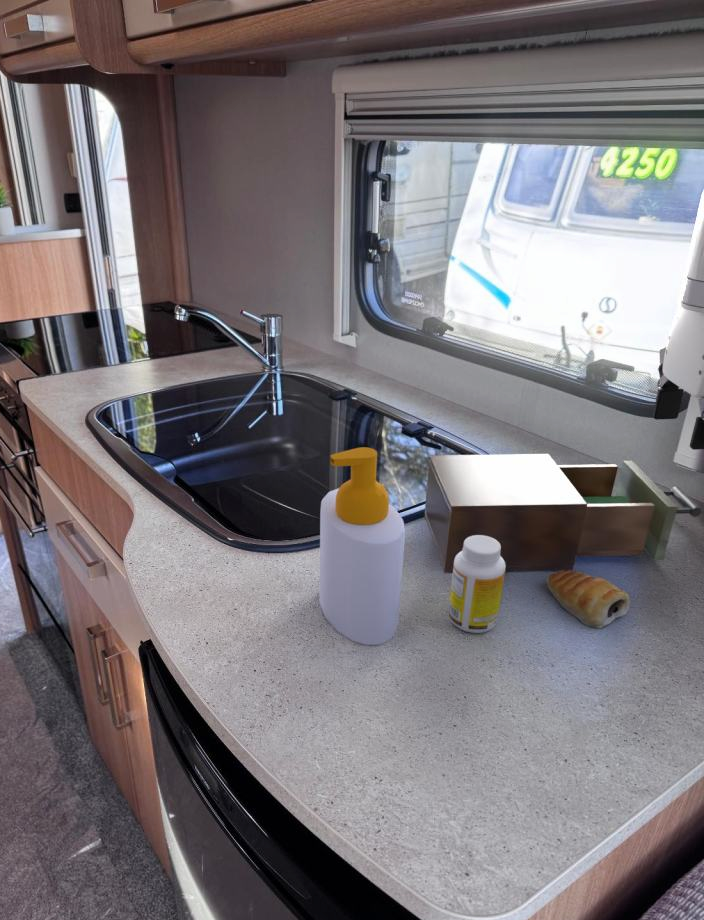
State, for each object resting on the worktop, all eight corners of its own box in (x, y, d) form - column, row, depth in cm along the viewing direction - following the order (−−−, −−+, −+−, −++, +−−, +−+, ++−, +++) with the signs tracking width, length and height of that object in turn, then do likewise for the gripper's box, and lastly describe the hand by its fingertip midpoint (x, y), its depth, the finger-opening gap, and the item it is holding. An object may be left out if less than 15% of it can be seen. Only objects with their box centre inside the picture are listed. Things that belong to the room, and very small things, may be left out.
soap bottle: (305, 587, 88) (305, 433, 78) (367, 575, 91) (374, 424, 81) (345, 655, 77) (351, 486, 67) (414, 638, 80) (430, 473, 70)
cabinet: (537, 514, 105) (548, 453, 100) (573, 570, 92) (587, 504, 87) (424, 516, 104) (429, 455, 99) (444, 572, 91) (451, 506, 87)
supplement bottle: (504, 616, 83) (517, 541, 78) (484, 641, 79) (496, 563, 74) (460, 599, 86) (469, 525, 81) (439, 623, 82) (447, 547, 77)
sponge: (619, 518, 100) (624, 496, 98) (633, 535, 96) (639, 512, 94) (569, 519, 99) (573, 496, 98) (581, 536, 95) (586, 513, 94)
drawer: (658, 508, 104) (671, 459, 101) (706, 559, 93) (723, 505, 89) (514, 511, 104) (521, 461, 100) (543, 562, 92) (553, 508, 88)
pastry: (532, 593, 87) (537, 567, 86) (568, 576, 91) (573, 550, 89) (597, 634, 81) (604, 606, 79) (633, 613, 84) (641, 586, 82)
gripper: (795, 311, 75) (751, 460, 84) (708, 278, 91) (678, 407, 99) (725, 313, 75) (687, 462, 83) (650, 280, 90) (624, 409, 99)
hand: (682, 432), depth 91 cm, fingers open, 9 cm apart
